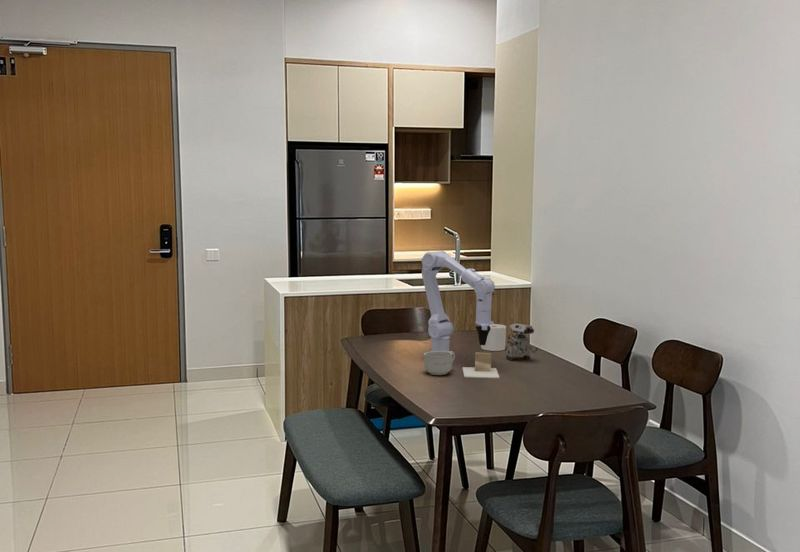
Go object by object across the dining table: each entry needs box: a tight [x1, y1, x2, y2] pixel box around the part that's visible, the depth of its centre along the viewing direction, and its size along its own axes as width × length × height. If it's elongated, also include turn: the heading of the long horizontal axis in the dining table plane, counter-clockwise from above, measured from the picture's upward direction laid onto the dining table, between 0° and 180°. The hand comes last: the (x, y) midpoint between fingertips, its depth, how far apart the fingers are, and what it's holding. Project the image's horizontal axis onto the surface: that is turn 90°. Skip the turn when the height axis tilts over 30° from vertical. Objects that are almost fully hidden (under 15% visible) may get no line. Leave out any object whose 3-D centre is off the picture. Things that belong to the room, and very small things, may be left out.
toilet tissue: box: [480, 323, 507, 352], centre depth 335 cm, size 11×12×10 cm
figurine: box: [505, 322, 538, 361], centre depth 313 cm, size 9×12×15 cm
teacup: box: [423, 350, 456, 376], centre depth 290 cm, size 14×11×8 cm
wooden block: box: [474, 351, 492, 372], centre depth 293 cm, size 2×6×7 cm, turn 88°
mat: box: [462, 366, 500, 379], centre depth 292 cm, size 14×13×1 cm
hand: (482, 344), depth 299 cm, fingers closed
